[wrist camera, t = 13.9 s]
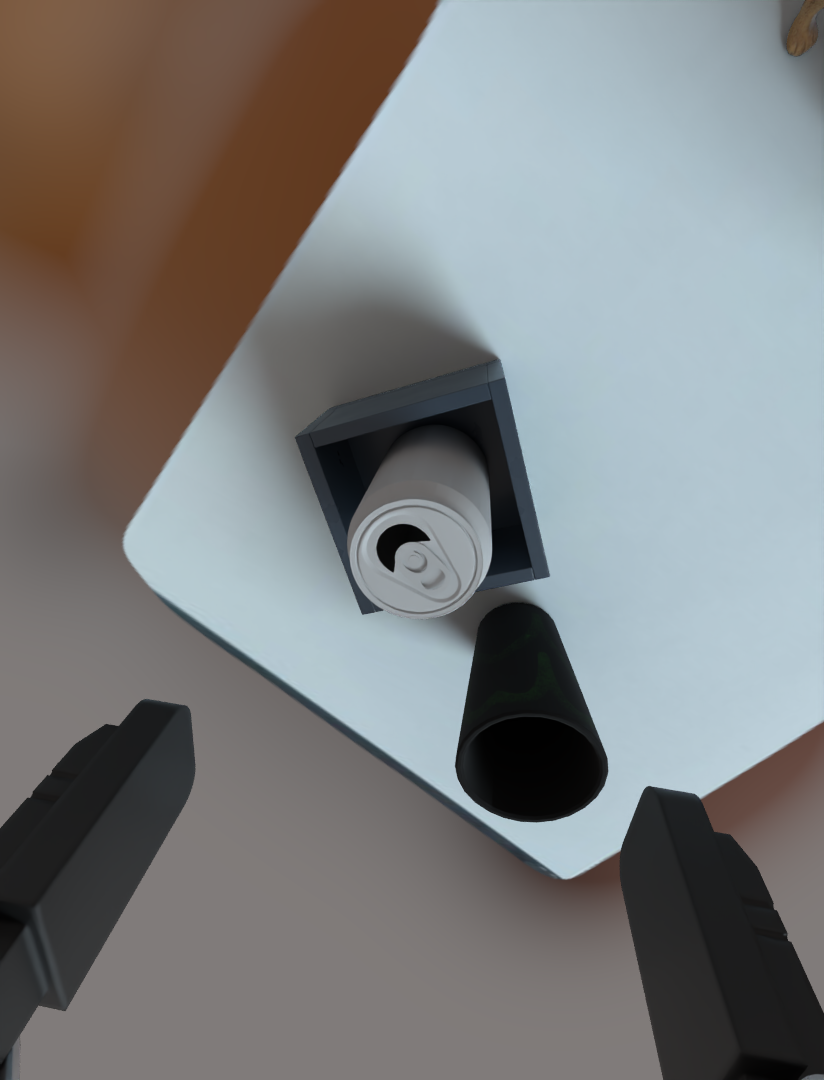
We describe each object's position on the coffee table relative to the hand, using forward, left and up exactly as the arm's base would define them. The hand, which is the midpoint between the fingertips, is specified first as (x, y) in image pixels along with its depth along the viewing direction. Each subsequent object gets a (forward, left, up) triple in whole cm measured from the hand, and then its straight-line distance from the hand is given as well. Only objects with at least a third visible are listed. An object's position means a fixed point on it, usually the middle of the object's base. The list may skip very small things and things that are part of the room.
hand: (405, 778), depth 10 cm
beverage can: (+2, +2, -26) cm, 26 cm away
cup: (0, +15, -27) cm, 31 cm away
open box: (+2, +2, -27) cm, 27 cm away
